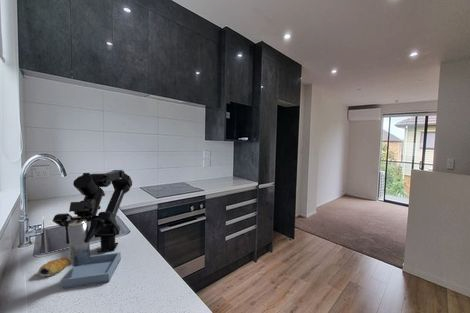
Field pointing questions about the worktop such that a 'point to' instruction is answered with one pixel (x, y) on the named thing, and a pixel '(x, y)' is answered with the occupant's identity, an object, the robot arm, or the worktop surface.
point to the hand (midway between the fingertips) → (77, 243)
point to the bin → (92, 271)
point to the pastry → (53, 267)
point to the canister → (78, 242)
